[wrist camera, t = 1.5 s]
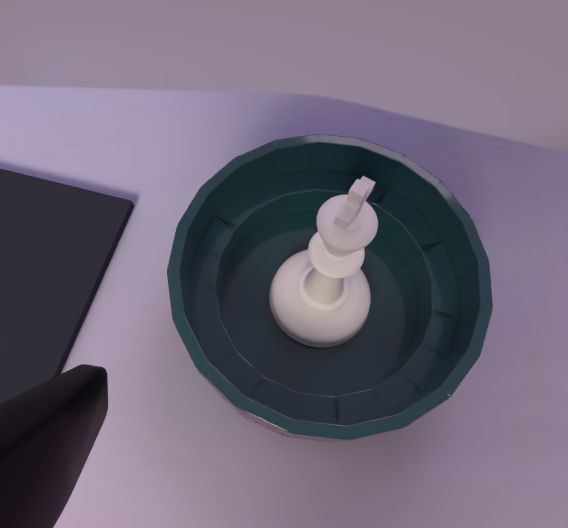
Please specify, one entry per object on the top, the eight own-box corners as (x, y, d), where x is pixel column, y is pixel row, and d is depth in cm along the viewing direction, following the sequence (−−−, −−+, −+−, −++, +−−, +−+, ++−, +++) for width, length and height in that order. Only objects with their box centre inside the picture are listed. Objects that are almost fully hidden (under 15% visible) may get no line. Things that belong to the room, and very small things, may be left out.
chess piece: (249, 311, 21) (238, 208, 12) (303, 235, 23) (329, 93, 14) (338, 368, 21) (398, 303, 11) (386, 284, 22) (473, 168, 13)
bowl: (401, 493, 19) (440, 505, 15) (135, 365, 21) (103, 344, 16) (477, 242, 24) (522, 199, 20) (256, 154, 25) (255, 97, 21)
